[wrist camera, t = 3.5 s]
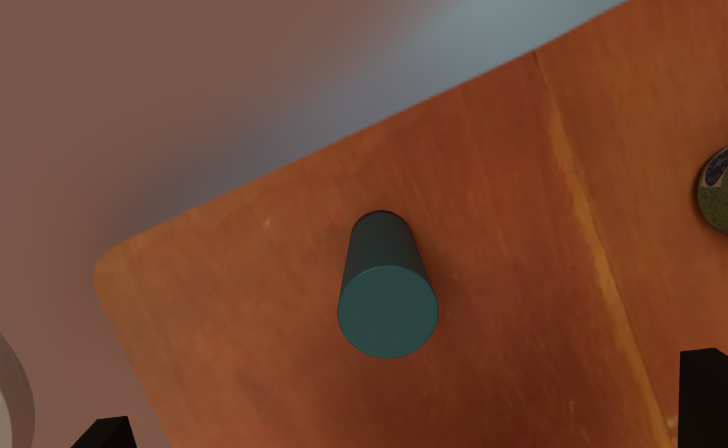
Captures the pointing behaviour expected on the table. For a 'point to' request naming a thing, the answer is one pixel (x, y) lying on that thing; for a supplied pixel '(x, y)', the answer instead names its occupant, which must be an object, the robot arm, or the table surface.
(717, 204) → the beverage can
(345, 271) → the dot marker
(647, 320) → the table surface
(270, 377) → the table surface
